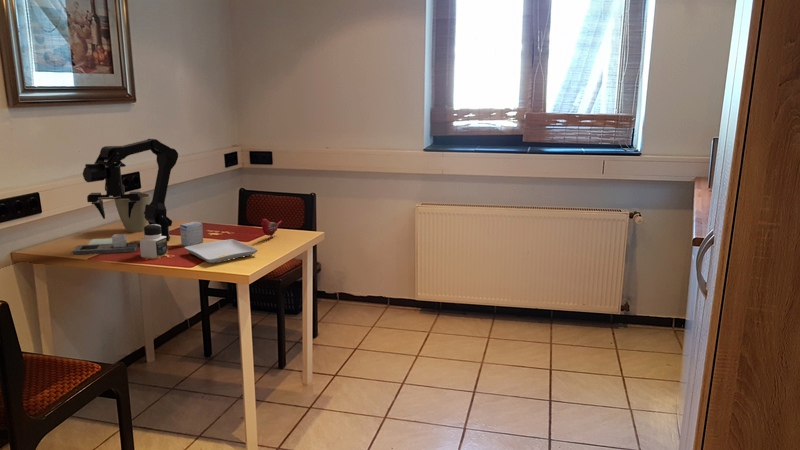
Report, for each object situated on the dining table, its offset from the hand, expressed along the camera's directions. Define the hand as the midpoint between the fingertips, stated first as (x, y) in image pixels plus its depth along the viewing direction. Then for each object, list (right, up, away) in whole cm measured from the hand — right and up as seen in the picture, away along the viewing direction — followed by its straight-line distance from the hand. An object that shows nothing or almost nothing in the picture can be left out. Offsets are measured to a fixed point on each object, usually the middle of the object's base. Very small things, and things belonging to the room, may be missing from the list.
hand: (117, 218), depth 232 cm
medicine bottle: (+16, -15, -4) cm, 22 cm away
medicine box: (+25, -11, +14) cm, 30 cm away
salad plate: (+42, -15, -2) cm, 44 cm away
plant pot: (-8, -5, +33) cm, 34 cm away
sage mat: (-10, -10, +12) cm, 19 cm away
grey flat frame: (-5, -13, +2) cm, 14 cm away
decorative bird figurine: (+56, -9, +25) cm, 62 cm away
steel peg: (0, -13, +3) cm, 13 cm away
